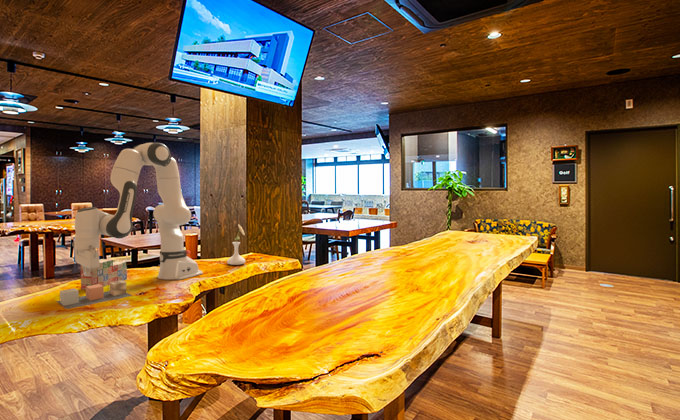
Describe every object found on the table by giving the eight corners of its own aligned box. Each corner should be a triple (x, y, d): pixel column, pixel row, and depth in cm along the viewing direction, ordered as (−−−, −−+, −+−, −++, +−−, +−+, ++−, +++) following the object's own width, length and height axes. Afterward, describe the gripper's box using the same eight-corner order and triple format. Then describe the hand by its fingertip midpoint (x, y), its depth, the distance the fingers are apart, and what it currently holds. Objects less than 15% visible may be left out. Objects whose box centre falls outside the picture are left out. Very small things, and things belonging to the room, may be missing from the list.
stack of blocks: (116, 278, 188) (116, 255, 187) (127, 279, 187) (126, 256, 186) (80, 290, 167) (80, 264, 166) (92, 291, 166) (92, 264, 165)
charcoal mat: (120, 290, 168) (120, 289, 168) (132, 296, 160) (132, 295, 160) (56, 302, 150) (56, 301, 150) (66, 310, 141) (66, 309, 141)
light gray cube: (74, 300, 152) (74, 288, 152) (78, 302, 149) (78, 290, 148) (60, 302, 148) (59, 290, 148) (63, 305, 145) (63, 293, 145)
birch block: (122, 290, 166) (121, 280, 165) (126, 293, 163) (126, 282, 162) (109, 293, 162) (109, 282, 162) (114, 295, 159) (113, 284, 158)
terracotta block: (99, 295, 159) (99, 284, 158) (103, 297, 156) (103, 286, 155) (86, 297, 155) (85, 286, 155) (90, 300, 152) (89, 288, 151)
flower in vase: (239, 266, 221) (240, 226, 219) (223, 265, 223) (223, 225, 222) (250, 262, 233) (250, 223, 232) (234, 261, 236) (234, 223, 234)
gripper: (103, 246, 154) (103, 278, 155) (87, 241, 167) (87, 270, 168) (86, 248, 149) (86, 281, 150) (71, 242, 162) (71, 272, 163)
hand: (86, 275), depth 159 cm, fingers closed
